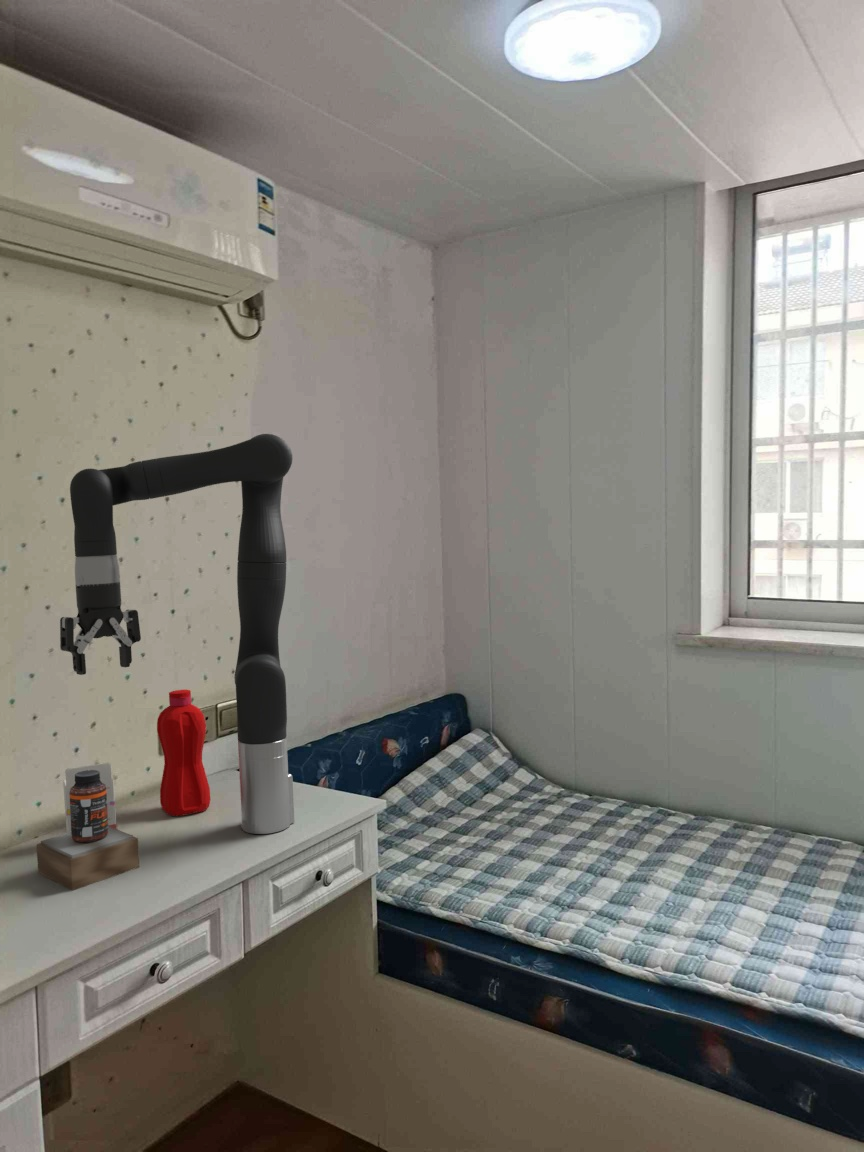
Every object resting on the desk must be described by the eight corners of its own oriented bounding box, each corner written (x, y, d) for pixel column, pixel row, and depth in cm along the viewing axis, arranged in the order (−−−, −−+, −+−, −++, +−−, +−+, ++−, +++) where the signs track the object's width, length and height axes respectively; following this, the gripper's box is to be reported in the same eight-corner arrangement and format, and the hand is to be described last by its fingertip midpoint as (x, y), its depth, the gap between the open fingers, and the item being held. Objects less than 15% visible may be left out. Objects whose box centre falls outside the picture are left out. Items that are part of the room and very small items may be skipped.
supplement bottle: (95, 844, 148) (92, 778, 147) (64, 843, 149) (60, 777, 148) (115, 832, 154) (112, 768, 153) (85, 830, 155) (81, 767, 154)
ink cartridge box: (113, 831, 171) (109, 756, 170) (117, 839, 166) (113, 762, 165) (66, 839, 167) (61, 763, 166) (68, 848, 162) (64, 769, 161)
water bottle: (199, 797, 190) (193, 683, 189) (214, 811, 181) (208, 690, 179) (155, 806, 185) (149, 688, 184) (169, 820, 176) (162, 696, 174)
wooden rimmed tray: (103, 851, 160) (102, 821, 159) (139, 866, 152) (137, 835, 152) (38, 872, 151) (36, 841, 150) (72, 890, 143) (70, 857, 142)
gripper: (122, 578, 166) (128, 663, 167) (49, 584, 155) (55, 675, 156) (144, 578, 161) (150, 666, 162) (70, 584, 150) (76, 678, 151)
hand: (103, 670), depth 159 cm, fingers open, 8 cm apart
